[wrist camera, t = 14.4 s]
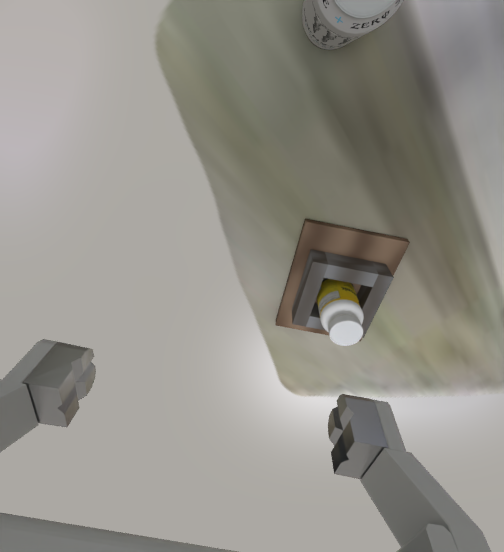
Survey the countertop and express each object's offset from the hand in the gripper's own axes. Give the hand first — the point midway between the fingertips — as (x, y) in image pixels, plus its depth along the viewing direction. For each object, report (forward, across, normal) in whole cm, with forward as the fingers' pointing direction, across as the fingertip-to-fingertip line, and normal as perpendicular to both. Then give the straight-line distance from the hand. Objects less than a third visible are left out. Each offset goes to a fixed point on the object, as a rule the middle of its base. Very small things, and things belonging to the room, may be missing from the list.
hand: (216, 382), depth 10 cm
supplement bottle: (+32, -14, +15) cm, 38 cm away
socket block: (+33, -14, +15) cm, 39 cm away
